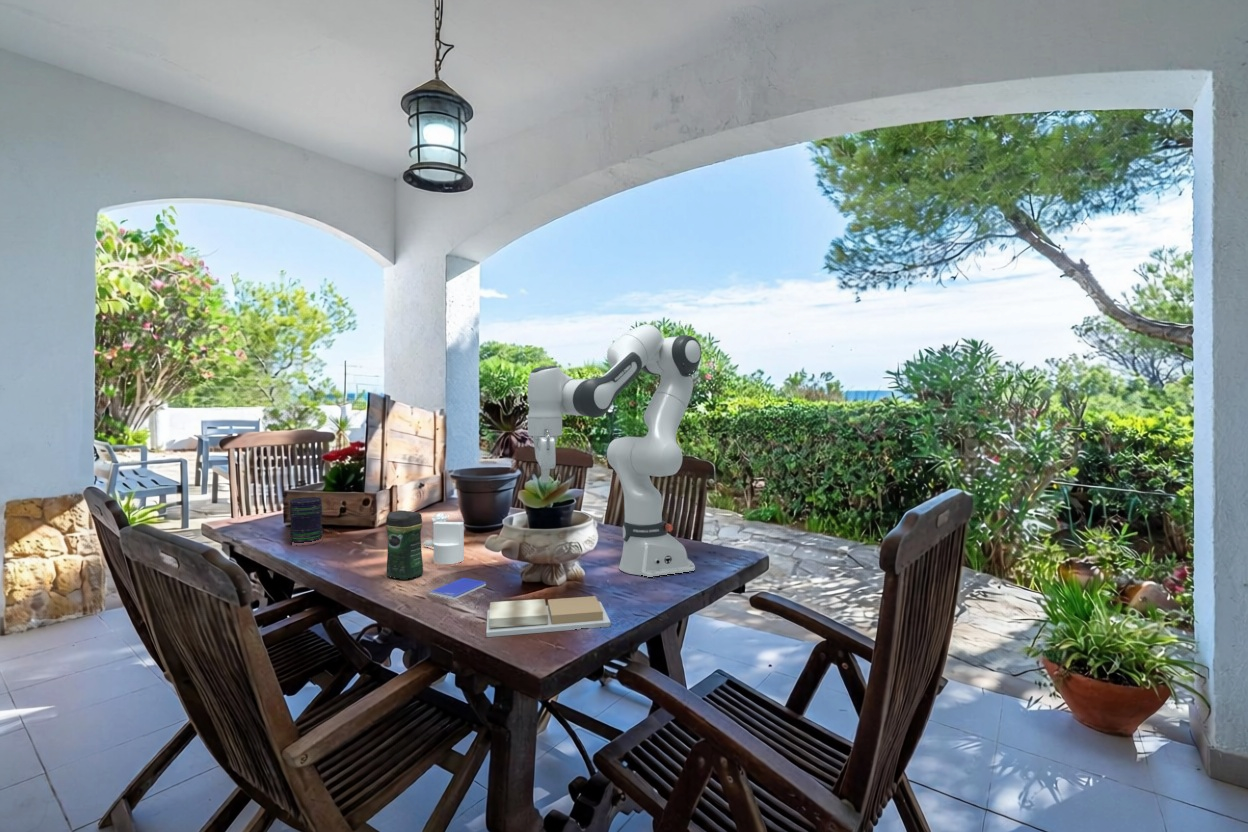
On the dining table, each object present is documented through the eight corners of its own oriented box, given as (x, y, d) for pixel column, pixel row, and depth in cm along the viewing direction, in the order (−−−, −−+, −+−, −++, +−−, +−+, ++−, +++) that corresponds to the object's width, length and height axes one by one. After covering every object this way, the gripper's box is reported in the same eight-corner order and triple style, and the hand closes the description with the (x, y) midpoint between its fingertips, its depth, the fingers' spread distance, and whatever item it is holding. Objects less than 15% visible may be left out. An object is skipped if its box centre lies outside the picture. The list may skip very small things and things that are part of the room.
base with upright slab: (468, 557, 182) (468, 520, 181) (457, 566, 173) (457, 526, 172) (440, 556, 183) (440, 519, 182) (428, 565, 174) (428, 525, 173)
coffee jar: (428, 574, 165) (427, 510, 164) (407, 582, 158) (406, 515, 157) (403, 569, 169) (402, 507, 169) (381, 577, 162) (380, 512, 161)
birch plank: (544, 607, 137) (544, 598, 137) (548, 623, 127) (548, 614, 127) (490, 610, 134) (490, 602, 134) (489, 627, 124) (489, 618, 124)
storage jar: (307, 537, 206) (306, 496, 205) (329, 540, 203) (328, 498, 202) (283, 544, 196) (282, 501, 196) (305, 547, 193) (304, 503, 193)
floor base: (600, 605, 141) (600, 593, 141) (610, 626, 129) (610, 613, 128) (487, 614, 136) (487, 601, 135) (486, 637, 123) (486, 623, 123)
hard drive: (454, 595, 145) (486, 581, 156) (429, 590, 148) (462, 577, 160) (454, 602, 145) (486, 587, 156) (429, 596, 148) (462, 582, 160)
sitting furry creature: (450, 542, 200) (450, 508, 199) (458, 548, 193) (458, 512, 192) (422, 546, 194) (422, 511, 194) (430, 552, 187) (429, 516, 187)
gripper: (561, 431, 139) (561, 488, 140) (553, 426, 159) (553, 476, 160) (535, 431, 138) (535, 489, 138) (530, 426, 158) (530, 476, 158)
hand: (545, 482), depth 149 cm, fingers closed
